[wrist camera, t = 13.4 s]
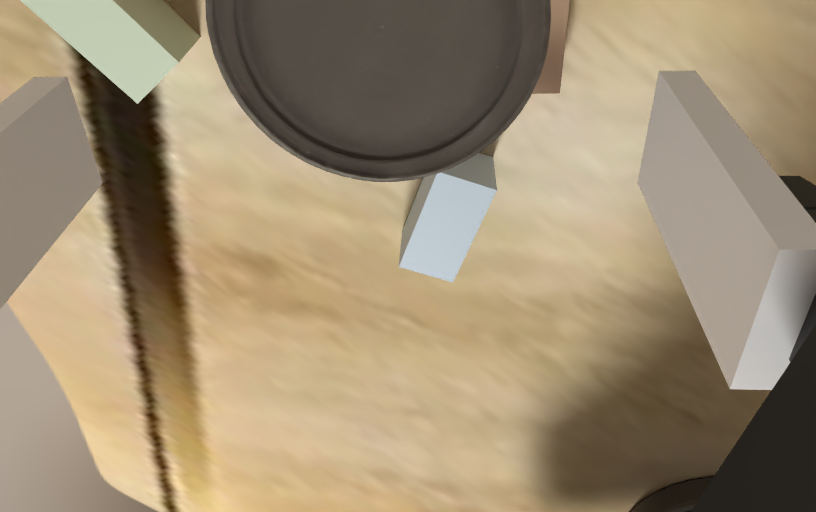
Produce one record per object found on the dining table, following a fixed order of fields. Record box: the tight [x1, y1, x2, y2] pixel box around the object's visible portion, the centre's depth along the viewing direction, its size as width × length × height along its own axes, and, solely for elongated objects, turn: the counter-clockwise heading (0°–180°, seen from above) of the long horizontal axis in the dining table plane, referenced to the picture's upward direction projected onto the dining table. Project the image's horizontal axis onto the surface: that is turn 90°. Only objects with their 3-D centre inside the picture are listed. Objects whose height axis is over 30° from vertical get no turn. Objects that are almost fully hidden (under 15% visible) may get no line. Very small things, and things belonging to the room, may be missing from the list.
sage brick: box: [21, 0, 201, 104], centre depth 35 cm, size 7×4×4 cm, turn 41°
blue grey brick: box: [399, 153, 497, 282], centre depth 42 cm, size 7×4×4 cm, turn 162°
